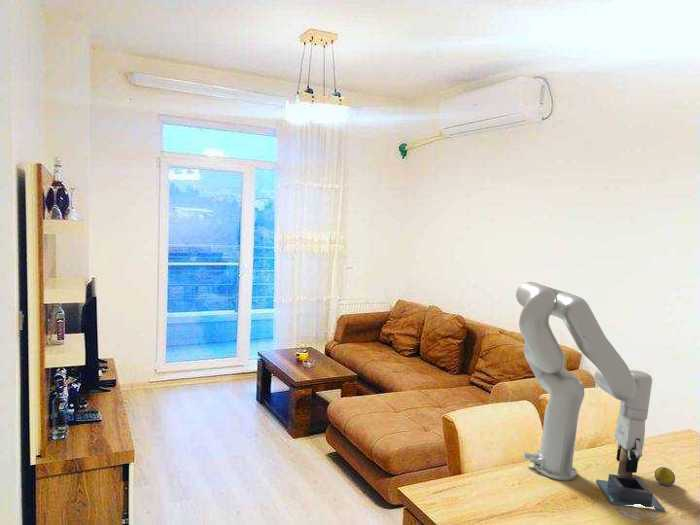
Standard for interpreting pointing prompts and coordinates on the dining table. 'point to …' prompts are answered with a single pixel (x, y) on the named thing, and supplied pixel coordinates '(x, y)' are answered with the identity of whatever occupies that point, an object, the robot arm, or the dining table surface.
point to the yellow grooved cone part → (664, 476)
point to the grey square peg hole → (628, 492)
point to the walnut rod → (624, 463)
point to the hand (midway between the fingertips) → (626, 465)
